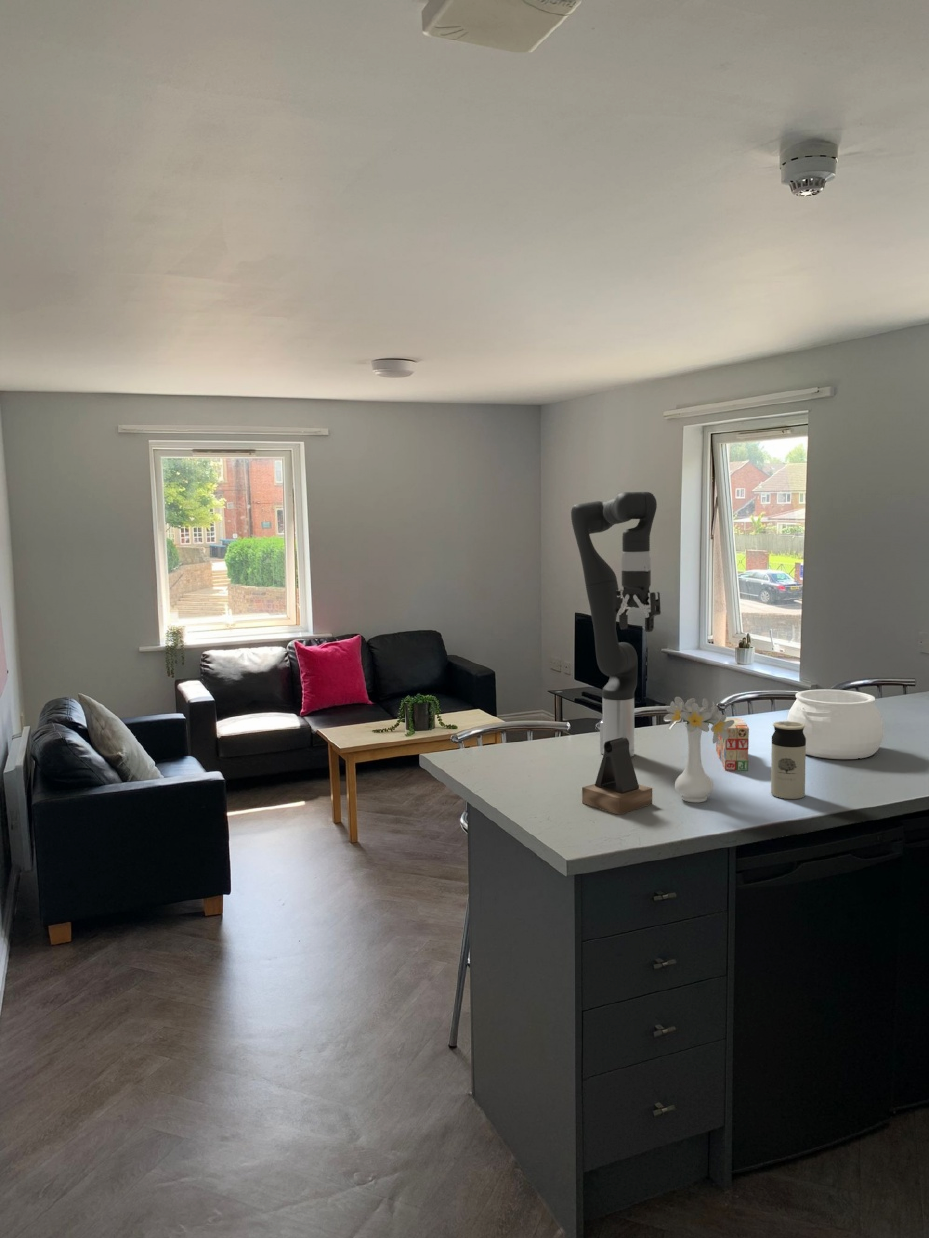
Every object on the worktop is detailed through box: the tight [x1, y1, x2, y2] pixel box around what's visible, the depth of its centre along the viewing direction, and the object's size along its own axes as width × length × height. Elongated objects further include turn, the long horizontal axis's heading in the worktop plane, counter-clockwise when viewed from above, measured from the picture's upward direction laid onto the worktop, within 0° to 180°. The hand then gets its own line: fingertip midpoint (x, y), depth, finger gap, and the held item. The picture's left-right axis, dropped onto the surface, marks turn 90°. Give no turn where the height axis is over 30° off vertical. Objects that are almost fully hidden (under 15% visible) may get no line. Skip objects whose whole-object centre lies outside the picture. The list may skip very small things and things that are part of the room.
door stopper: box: [594, 737, 640, 794], centre depth 222 cm, size 9×6×12 cm, turn 39°
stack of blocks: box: [715, 717, 750, 772], centre depth 259 cm, size 21×6×12 cm, turn 171°
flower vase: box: [663, 696, 734, 804], centre depth 223 cm, size 13×18×25 cm
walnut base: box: [581, 783, 653, 816], centre depth 222 cm, size 12×12×4 cm
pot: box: [786, 689, 885, 760], centre depth 267 cm, size 29×26×16 cm
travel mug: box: [770, 720, 807, 800], centre depth 225 cm, size 8×8×18 cm
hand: (636, 630), depth 239 cm, fingers open, 8 cm apart
